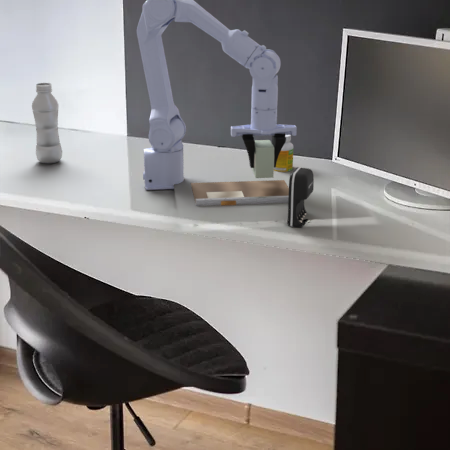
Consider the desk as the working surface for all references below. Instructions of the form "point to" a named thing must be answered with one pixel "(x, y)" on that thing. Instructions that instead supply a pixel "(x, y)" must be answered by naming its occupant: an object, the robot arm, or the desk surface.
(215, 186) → the shelf board
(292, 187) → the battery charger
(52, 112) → the plastic bottle
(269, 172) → the carton
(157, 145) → the robot arm
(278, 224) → the desk surface
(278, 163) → the supplement bottle
